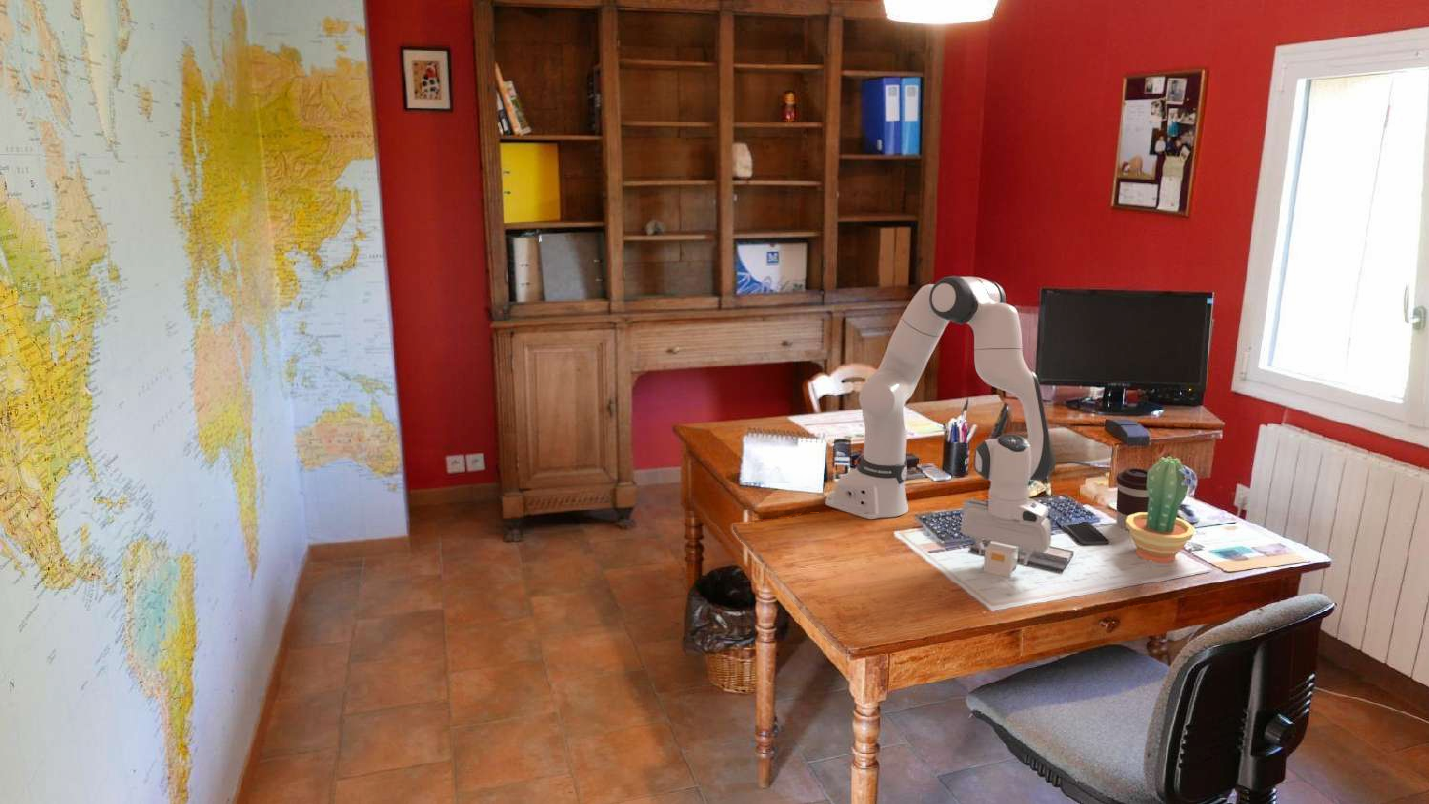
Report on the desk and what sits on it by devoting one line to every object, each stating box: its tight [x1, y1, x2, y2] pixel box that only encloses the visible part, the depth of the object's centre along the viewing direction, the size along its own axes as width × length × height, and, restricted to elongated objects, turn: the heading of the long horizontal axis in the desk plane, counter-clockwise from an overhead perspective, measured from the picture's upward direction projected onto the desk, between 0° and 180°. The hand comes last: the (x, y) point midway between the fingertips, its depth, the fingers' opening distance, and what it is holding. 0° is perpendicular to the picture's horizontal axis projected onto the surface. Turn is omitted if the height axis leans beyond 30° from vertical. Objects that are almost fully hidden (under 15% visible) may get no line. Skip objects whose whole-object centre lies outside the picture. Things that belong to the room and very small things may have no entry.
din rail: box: [970, 540, 1075, 574], centre depth 237 cm, size 22×11×2 cm, turn 59°
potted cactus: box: [1126, 455, 1198, 564], centre depth 234 cm, size 15×15×25 cm
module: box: [983, 541, 1018, 578], centre depth 228 cm, size 6×6×6 cm
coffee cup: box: [1116, 467, 1149, 531], centre depth 251 cm, size 10×10×15 cm
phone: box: [1062, 520, 1110, 546], centre depth 249 cm, size 8×1×15 cm
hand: (1002, 559), depth 229 cm, fingers open, 8 cm apart
